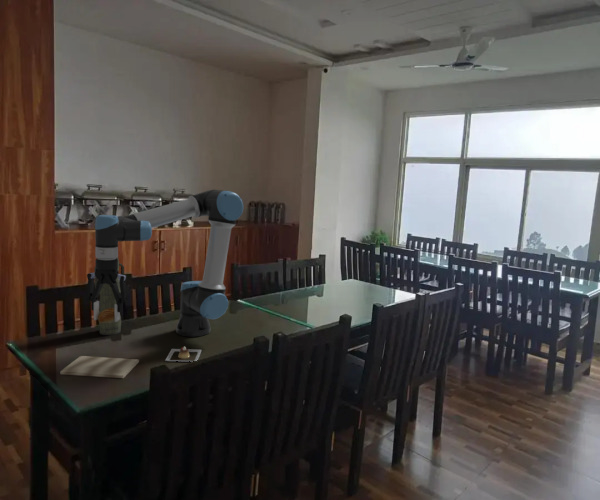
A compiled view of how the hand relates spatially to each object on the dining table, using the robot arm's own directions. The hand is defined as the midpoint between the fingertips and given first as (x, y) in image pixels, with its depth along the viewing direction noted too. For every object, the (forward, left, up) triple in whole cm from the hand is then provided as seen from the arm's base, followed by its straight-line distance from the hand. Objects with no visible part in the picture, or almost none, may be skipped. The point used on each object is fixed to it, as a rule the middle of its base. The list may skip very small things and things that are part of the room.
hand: (106, 319), depth 168 cm
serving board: (0, +6, -16) cm, 17 cm away
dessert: (-26, -9, -17) cm, 33 cm away
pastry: (0, -1, -1) cm, 1 cm away
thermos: (+13, -31, -16) cm, 37 cm away
